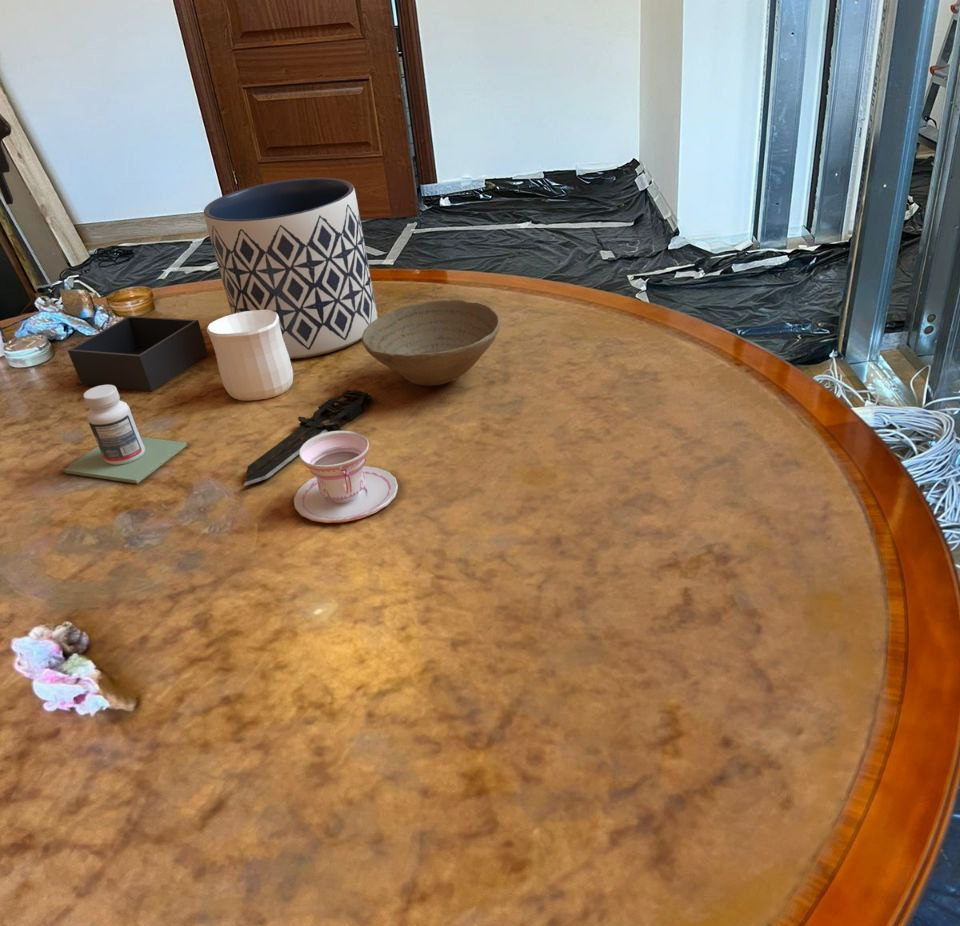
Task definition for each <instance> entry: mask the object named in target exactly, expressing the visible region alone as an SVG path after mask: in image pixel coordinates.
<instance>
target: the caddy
mask: <svg viewBox="0 0 960 926" xmlns="http://www.w3.org/2000/svg"><path fill="white" fill-rule="evenodd" d="M67 353H68V355H69V358H70V360H71V363H72V365H73V368H74V370H75V373H76V375H77V377H78V380H79V383H80V385H84V386H92V387H97V386H101V385H113V386H115V387H116V389H122V390H123V389H124V390H125V389H126V390H133V391H134V390H135V391H145V392H153V391H155V390H156V389H157V388H160V387H161V386H163V385H164V384H166V383H167V382H168V381H170V380H172V379H173V378H174V377H176V376H177V375H179V374H180V373H182V372H183V371H185V370H187V369H188V368H190V366H192V365H194V364H195V363H197V362H198V361H199V360H201V359H203V358H204V357H206V356H208V355H209V351H208V348H207V345H206V341H205V338H204V334H203V331H202V328H201V325H200V322H199V319H189V318H187V319H185V318H171V317H169V318H168V317H155V316H153V317H151V316H135V315H128V316H125V317H124V318H122V319H120V320H119V321H117V322H115V323H114V324H112V325H110V326H107V328H104V329H103V330H101V331H99V332H97V333H95V334H94V335H92V336H90V337H89V338H87V339H85V340H83V341H81V342H80V343H77V344H76V345H74V346H73V347H70V348H69V349H67Z"/></svg>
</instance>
